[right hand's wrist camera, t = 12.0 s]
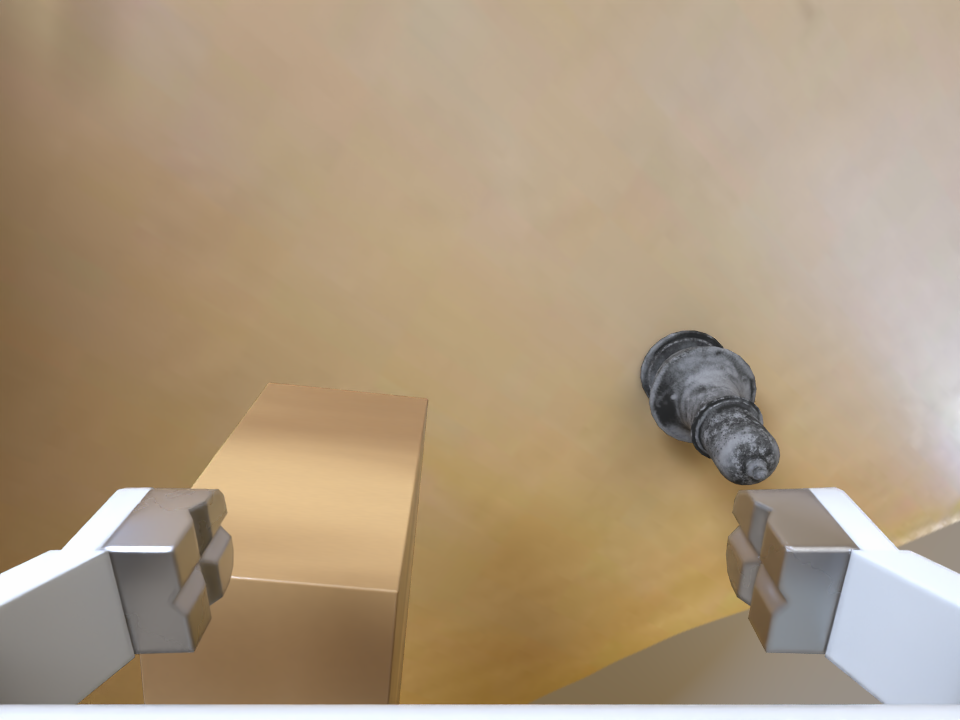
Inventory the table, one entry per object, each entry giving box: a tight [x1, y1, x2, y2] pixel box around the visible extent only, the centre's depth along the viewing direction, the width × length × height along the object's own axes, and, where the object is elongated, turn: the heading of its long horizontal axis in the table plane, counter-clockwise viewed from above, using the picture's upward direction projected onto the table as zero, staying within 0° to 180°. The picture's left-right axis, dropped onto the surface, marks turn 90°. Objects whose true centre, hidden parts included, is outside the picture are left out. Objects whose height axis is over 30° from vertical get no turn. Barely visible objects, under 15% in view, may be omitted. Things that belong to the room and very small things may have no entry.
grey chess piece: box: [641, 331, 780, 485], centre depth 34 cm, size 6×6×12 cm
